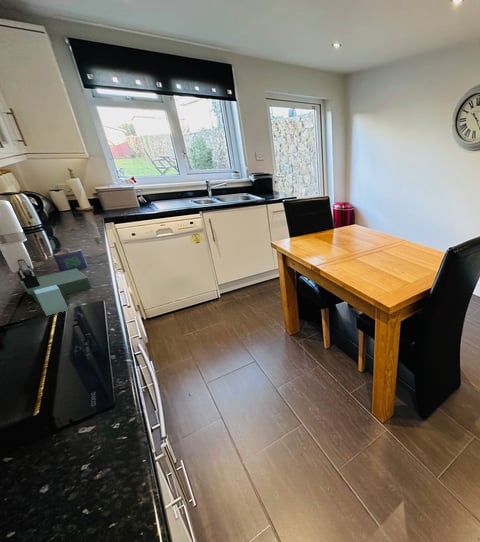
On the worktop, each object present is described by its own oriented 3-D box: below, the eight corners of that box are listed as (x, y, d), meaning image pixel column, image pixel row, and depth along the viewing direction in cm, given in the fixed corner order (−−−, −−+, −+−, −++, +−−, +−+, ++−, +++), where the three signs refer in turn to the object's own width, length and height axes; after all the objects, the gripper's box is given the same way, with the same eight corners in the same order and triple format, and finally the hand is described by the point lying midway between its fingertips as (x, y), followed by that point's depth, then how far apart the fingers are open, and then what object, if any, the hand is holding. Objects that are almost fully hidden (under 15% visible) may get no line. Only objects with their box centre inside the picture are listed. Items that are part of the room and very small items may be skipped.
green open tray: (37, 304, 99) (32, 293, 97) (29, 292, 106) (23, 282, 105) (92, 289, 110) (88, 279, 108) (80, 279, 118) (76, 270, 116)
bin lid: (28, 294, 96) (21, 281, 94) (20, 283, 104) (14, 270, 102) (88, 279, 108) (83, 267, 106) (76, 270, 116) (72, 258, 114)
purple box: (87, 267, 129) (79, 245, 125) (90, 268, 128) (81, 246, 124) (60, 273, 122) (50, 250, 118) (62, 275, 121) (52, 252, 117)
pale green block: (47, 317, 92) (36, 294, 89) (44, 312, 94) (33, 290, 91) (69, 310, 96) (59, 288, 93) (65, 306, 98) (55, 284, 95)
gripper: (-13, 235, 96) (10, 280, 103) (-6, 245, 87) (19, 294, 94) (20, 231, 102) (40, 274, 108) (30, 240, 93) (51, 286, 99)
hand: (30, 283), depth 101 cm, fingers open, 9 cm apart
